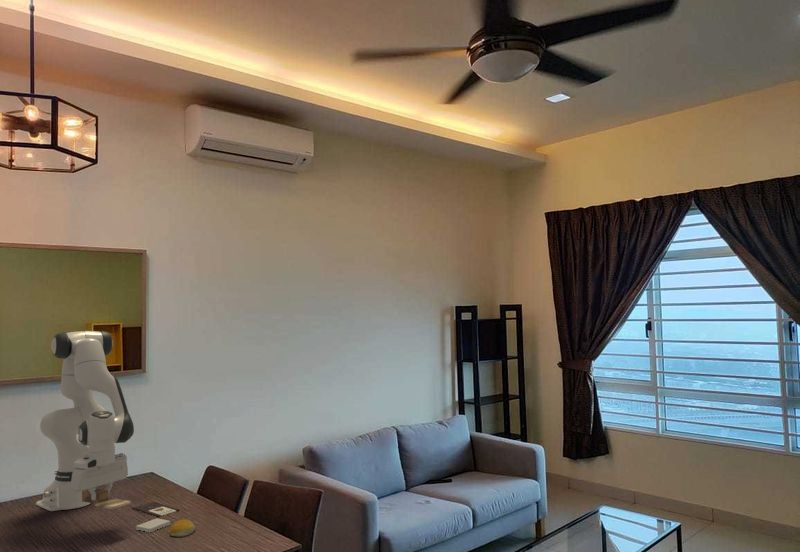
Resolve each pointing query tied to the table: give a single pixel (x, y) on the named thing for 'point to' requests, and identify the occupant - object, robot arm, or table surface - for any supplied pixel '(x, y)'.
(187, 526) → the bread roll
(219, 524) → the table surface
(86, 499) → the brown flat knobbed piece
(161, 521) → the tile
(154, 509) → the chocolate bar
